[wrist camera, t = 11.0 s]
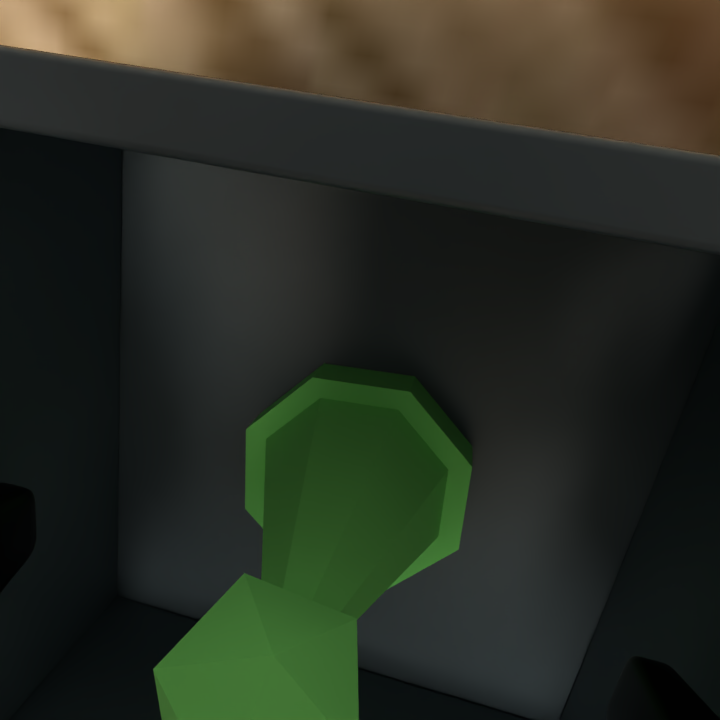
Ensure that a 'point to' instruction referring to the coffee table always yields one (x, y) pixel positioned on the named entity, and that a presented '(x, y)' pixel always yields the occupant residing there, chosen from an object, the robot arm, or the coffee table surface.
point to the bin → (358, 350)
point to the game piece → (323, 546)
